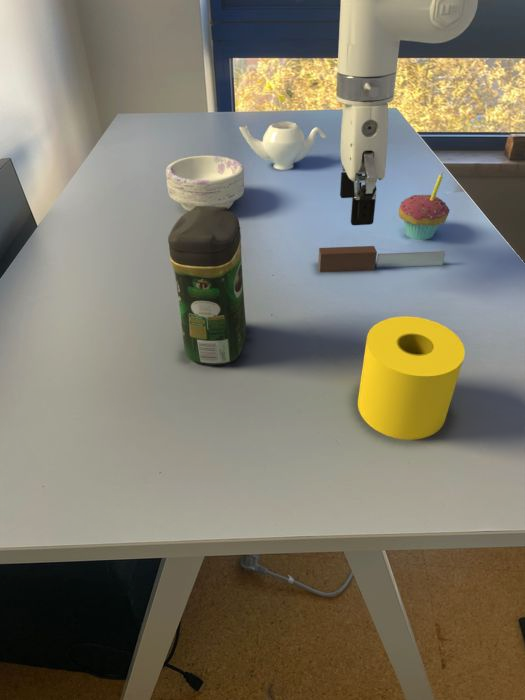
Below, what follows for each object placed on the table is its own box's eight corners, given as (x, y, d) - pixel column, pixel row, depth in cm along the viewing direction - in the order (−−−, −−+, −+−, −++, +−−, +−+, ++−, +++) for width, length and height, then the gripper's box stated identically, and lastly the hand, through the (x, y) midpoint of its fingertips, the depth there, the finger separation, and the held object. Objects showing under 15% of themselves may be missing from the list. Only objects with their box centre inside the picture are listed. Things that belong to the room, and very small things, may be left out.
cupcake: (448, 230, 95) (463, 165, 87) (435, 249, 89) (450, 182, 82) (403, 220, 98) (413, 157, 91) (387, 238, 93) (397, 172, 85)
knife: (319, 272, 84) (320, 254, 82) (318, 266, 86) (319, 247, 84) (444, 268, 84) (448, 249, 82) (440, 261, 86) (444, 243, 84)
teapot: (328, 172, 118) (330, 130, 113) (241, 175, 118) (239, 132, 112) (322, 158, 126) (324, 117, 120) (240, 160, 125) (239, 120, 120)
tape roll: (355, 434, 57) (365, 370, 51) (359, 374, 65) (367, 312, 59) (449, 445, 56) (470, 381, 50) (441, 383, 63) (459, 321, 57)
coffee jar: (196, 322, 74) (181, 198, 62) (250, 326, 73) (245, 200, 61) (177, 366, 67) (156, 234, 55) (238, 371, 66) (229, 238, 54)
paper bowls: (257, 197, 108) (256, 159, 103) (223, 227, 97) (220, 186, 92) (194, 186, 113) (190, 149, 108) (155, 214, 103) (149, 174, 98)
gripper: (411, 102, 61) (393, 234, 72) (379, 71, 74) (368, 186, 85) (348, 105, 61) (340, 237, 72) (327, 74, 74) (323, 189, 85)
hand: (355, 209), depth 78 cm, fingers open, 9 cm apart
